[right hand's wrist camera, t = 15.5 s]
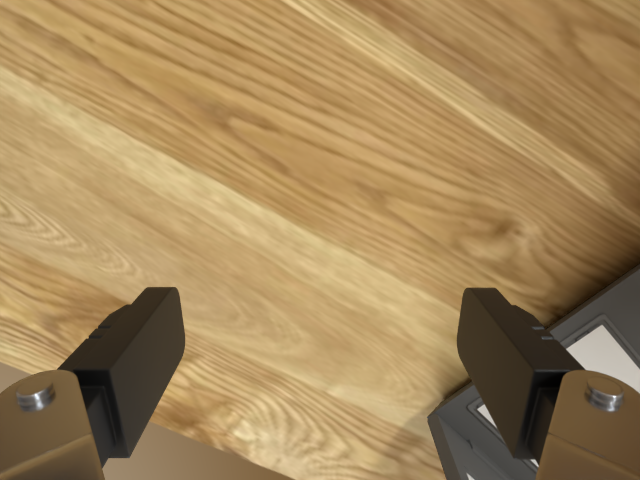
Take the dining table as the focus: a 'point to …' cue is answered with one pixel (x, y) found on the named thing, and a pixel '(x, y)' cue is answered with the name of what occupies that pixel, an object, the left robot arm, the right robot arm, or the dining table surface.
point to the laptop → (582, 343)
